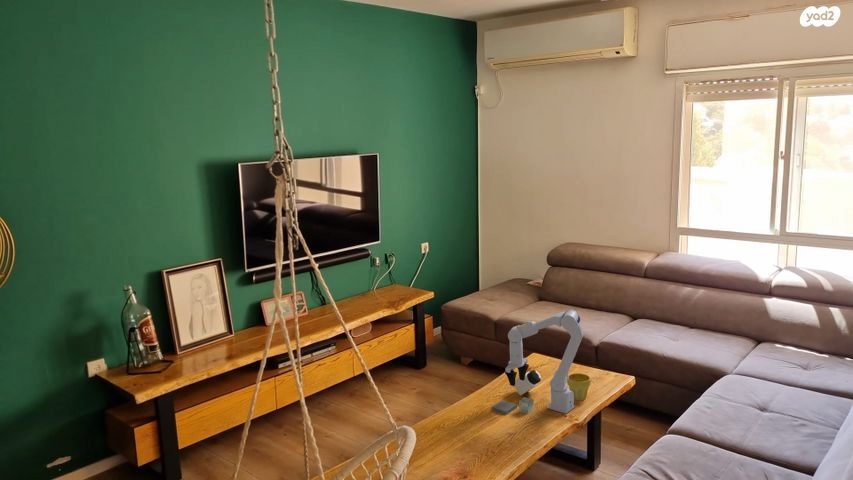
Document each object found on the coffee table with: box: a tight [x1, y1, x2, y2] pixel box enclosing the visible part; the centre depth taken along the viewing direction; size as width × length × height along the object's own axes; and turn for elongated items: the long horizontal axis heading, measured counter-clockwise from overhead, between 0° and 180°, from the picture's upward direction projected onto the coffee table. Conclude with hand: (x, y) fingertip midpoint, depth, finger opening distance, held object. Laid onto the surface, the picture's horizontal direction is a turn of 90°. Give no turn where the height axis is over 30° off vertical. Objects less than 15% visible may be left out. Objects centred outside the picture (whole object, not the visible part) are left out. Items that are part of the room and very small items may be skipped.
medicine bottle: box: [513, 369, 542, 396], centre depth 300 cm, size 7×7×12 cm
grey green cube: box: [518, 397, 535, 415], centre depth 284 cm, size 5×5×5 cm
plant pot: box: [566, 372, 592, 401], centre depth 295 cm, size 10×10×10 cm
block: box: [490, 400, 518, 416], centre depth 288 cm, size 8×8×2 cm
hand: (517, 382), depth 292 cm, fingers open, 7 cm apart
